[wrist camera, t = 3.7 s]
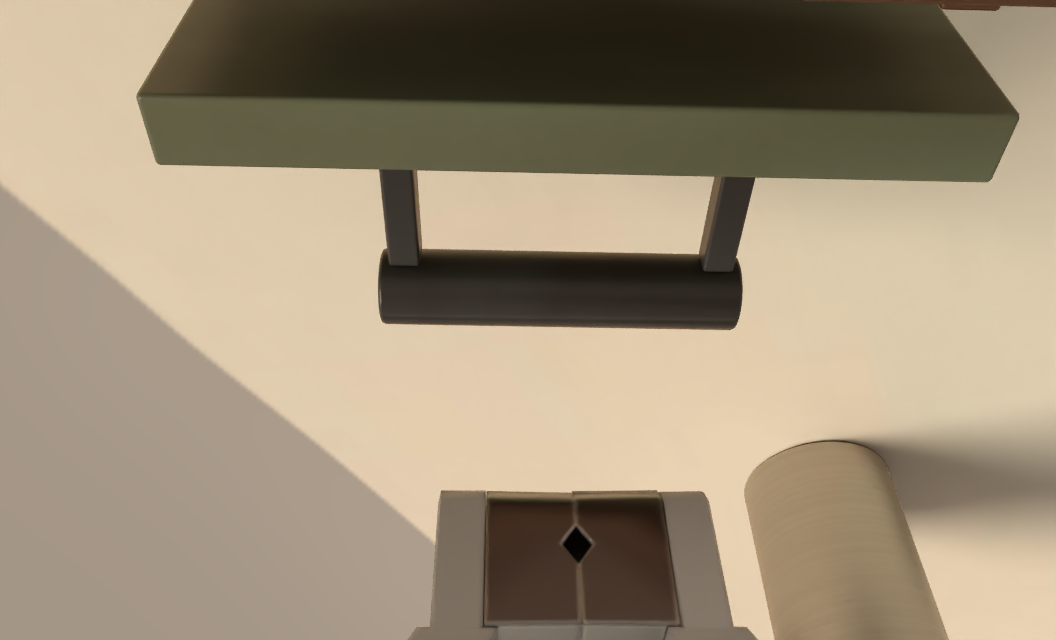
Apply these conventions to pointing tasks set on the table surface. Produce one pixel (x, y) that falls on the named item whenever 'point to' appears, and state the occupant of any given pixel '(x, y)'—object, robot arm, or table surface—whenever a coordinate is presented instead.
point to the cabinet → (962, 2)
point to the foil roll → (837, 548)
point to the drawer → (576, 123)
